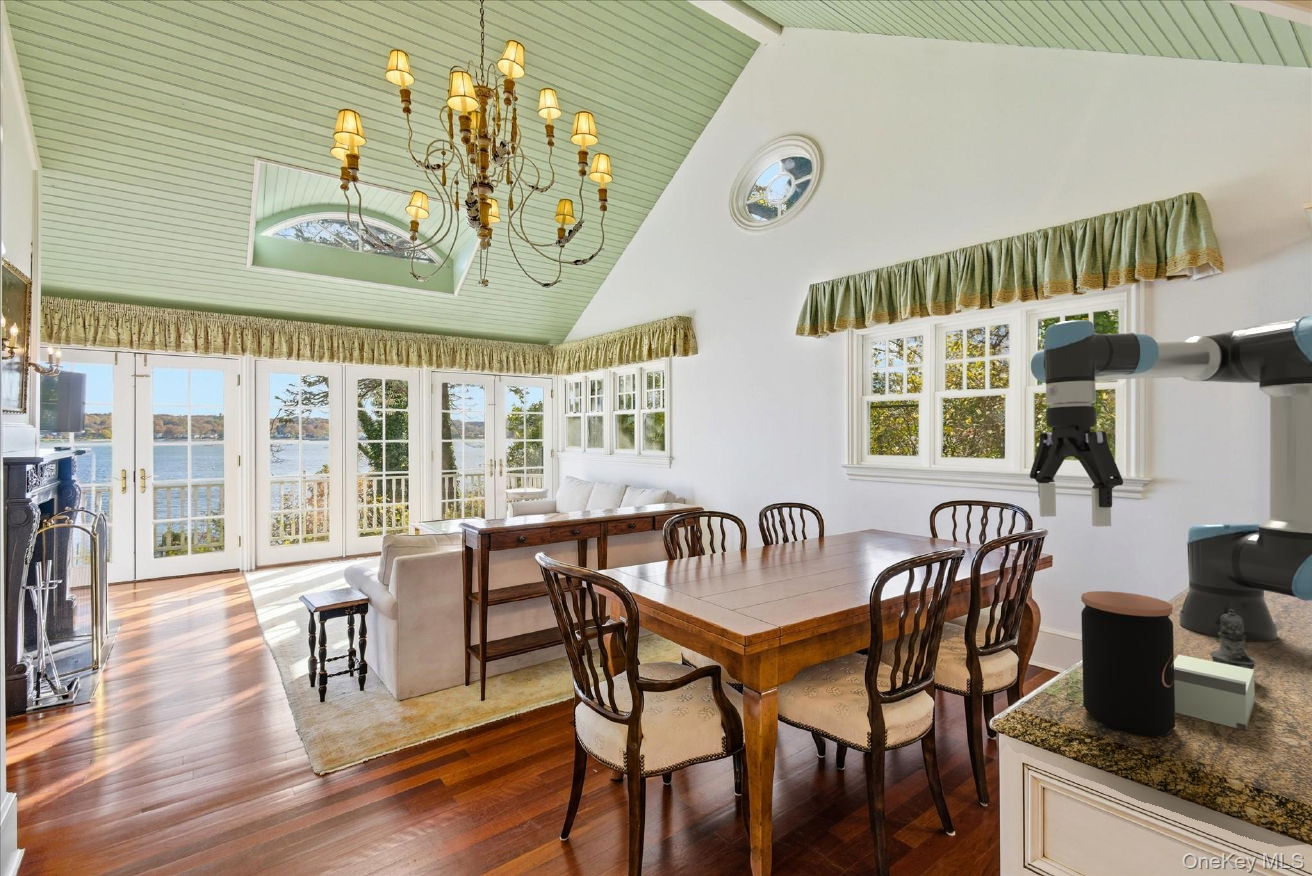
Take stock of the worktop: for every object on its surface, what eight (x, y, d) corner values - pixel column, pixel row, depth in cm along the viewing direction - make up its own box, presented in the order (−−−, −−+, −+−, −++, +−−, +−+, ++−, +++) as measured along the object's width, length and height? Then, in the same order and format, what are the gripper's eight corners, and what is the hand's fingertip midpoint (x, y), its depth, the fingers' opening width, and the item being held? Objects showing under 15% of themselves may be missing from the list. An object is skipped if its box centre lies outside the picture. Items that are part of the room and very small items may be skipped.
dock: (1179, 683, 99) (1178, 645, 99) (1254, 701, 92) (1253, 659, 92) (1163, 709, 90) (1162, 666, 90) (1246, 730, 83) (1245, 684, 83)
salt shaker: (1210, 668, 106) (1209, 602, 106) (1257, 677, 102) (1255, 608, 102) (1209, 677, 102) (1207, 608, 102) (1257, 687, 97) (1256, 615, 98)
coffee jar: (1184, 746, 79) (1181, 614, 79) (1086, 727, 85) (1084, 603, 85) (1167, 715, 88) (1164, 596, 88) (1080, 699, 94) (1078, 587, 94)
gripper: (1008, 410, 120) (1011, 513, 120) (1102, 401, 95) (1106, 531, 95) (1044, 409, 120) (1047, 512, 120) (1148, 400, 96) (1151, 530, 95)
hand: (1073, 521), depth 108 cm, fingers open, 13 cm apart
